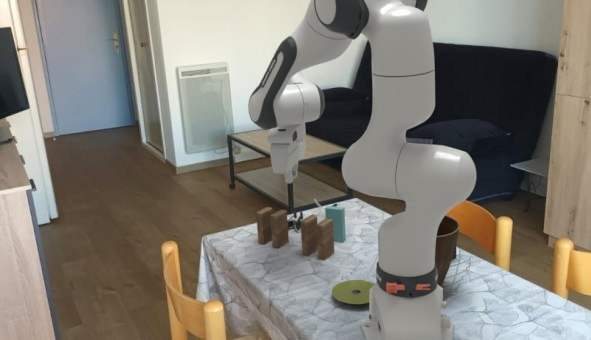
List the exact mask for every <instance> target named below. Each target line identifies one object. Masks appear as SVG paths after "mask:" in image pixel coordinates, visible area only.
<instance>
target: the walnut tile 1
mask: <svg viewBox="0 0 591 340" xmlns="http://www.w3.org/2000/svg"><path fill="white" fill-rule="evenodd" d="M273 209H274V208H273V207H271V206H269V207H268V206H266V207H263V208H262V209H260V210H258V211H256V212H255V215H256V228H257V229H256V230H257V241H258V245H263V246H265V245H266V244H268V243H270V242H271V241H272V230H271V216H270V215H272V214H274V210H273Z"/></svg>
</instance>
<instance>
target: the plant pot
mask: <svg viewBox="0 0 591 340" xmlns="http://www.w3.org/2000/svg"><path fill="white" fill-rule="evenodd" d="M459 233H460V222H459V221H458V220H457V219H455V217H454V218H452V217H451V215H447V214H446V215H445V216H444V218H443V219H442V221H441V222H440V225H439V227H438V231H437V236H436V246H435V263H436V265H437V272H438V278H437V284H438V285H439V286H441V287H442V285H443V284H444V282H445V279H446V278H447V275H448V272H449V269H450V267H451V263H452V260H453V259H452V258H453V254H454V251H455V247H456V248H457V243H458V237H459Z"/></svg>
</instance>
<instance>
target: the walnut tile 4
mask: <svg viewBox="0 0 591 340" xmlns="http://www.w3.org/2000/svg"><path fill="white" fill-rule="evenodd" d="M316 224H317V216H312V215H311V214H310V215H309V216H307V217H305V218H303V220H302V221H301V226H300V235H301V237H300V238H301V251H302V252H301V253H302V255H303V256H306V257H310V256H311V255H313V254H314V253H315V252H318V246H317V225H316Z"/></svg>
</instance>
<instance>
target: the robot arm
mask: <svg viewBox="0 0 591 340" xmlns="http://www.w3.org/2000/svg"><path fill="white" fill-rule="evenodd" d="M428 1H429V0H310V1H309V4H308V6H307V10H306V11H305V15H304V17H303V19H302V20H301V22H300V23H299V24H298V26H297V27H296V28H295V29H294V31H293V32H292V33H291V34H290V35H288V36H286V38H284V39H283V40H282V42H281V43H280V44H279V45H278V47H277V48H276V49H275V53H274V54H273V57H272V58H271V60H270V62H269V64H268V66H267V68H266V70H265V72H264V74H263V76H262V78H261V80H260V82H259V84H258V85H257V86H256V88H255V89H254V90H253V91H252V93H251V95H250V97H249V99H248V107H247V108H248V115H249V118H250V120H251V121H252V122H253V123H254V124H255V125H256V126H258V127H259V128H261V129H262V130H265V131H269V132H268V134H267V137H266V138H267V144H270V145H269V149H270V150H269V154H270V162H271V168H272V171H273V173H274V174H278V175H279V174H283V176H284V181H285V183H286V184H292V183H293V182H294V179H297V177H298V168H299V161H300V160H301V159H302V158H303V157H304V156H305V155H306V149H307V147H306V146H307V145H306V137H305V136H306V135H307V134H306V133H307V132H306V131H307V130H306V123H310V122H314V121H316V120H318V119H320V118H321V116H322V115H323V113H324V110H325V108H326V106H325V105H326V104H325V103H326V101H325V94H324V91H323V90H322V89H321V88H320V87H319V86H318V85H317V84H316V83H314V82H311V81H308V79H306V78H305V77H304V76H303V74H302V71H304V70H307V69H308V68H311V67H314V66H317V65H321V64H325V63H328V62H331V61H334V60H336V59H338V58H339V57H341V56H342V55H343V54H344V53H345V52H346V50H347V49H348V48H349V47H350V45H351V44H352V43H353V40H356V39H357V38H358V37H359V36H360V35H361V34H362V35H363V36H364V38H365V37H366V39H367V41H368V42H369V44H370V49H371V80H372V83H371V84H372V108H371V116H370V120H369V123H368V125H367V127H366V130H365V131H364V133H363V134H362V136H361V137H360V138H359V139H358V140H356V142H354V143H352V144H351V145H350V146H349V147H348V149H347V150H346V152H345V153H344V155H343V158H342V163H341V175H342V178H343V180H344V182H345V184H346V186H347V187H348V188H349V189H351V190H354V191H357V192H359V193H362V194H364V195H368V196H371V197H379V198H384V199H385V198H386V199H392V200H393V199H394V200H400V201H404V202H405V210H404V211H402V212H398V213H396V214H393V215H391V216H389V217H387V218H386V219H385V220H384V221H383V222H382V223H381V224H380V225H379V228H378V230H377V231H378V232H377V242H378V243H377V245H378V246H377V248H378V250H377V251H378V255H377V256H378V259H377V262H376V268H375V276H376V282H375V283H374V284H375V285H374V286H373V287H372V288H371V289H370V293H369V307H368V308H369V310H368V312H369V315H368V316H369V317H367V318H364V319H362V320H360V329H361V332H362V334H363V337H364V339H365V340H454V322H453V320H451V317H450V316H448V315H447V314H444V313H443V309H447V306H448V305H447V303H448V302H447V301H446V300H443V299H444V297H443V296H444V288H443V287H442V286H439V285H438V284H437V278H438V272H437V265H436V263H435V246H436V236H437V231H438V227H439V225H440V222H441V221H442V219H443V218H444V216H445V215H447V214H448V213H449V212H450V211H451V210H452V209H453V208H455V207H457V206H458V205H460V204H462V203H463V202H465V200H467V199H468V198H469V197H470V196H471V194H472V192H473V191H474V188H475V186H476V183H477V169H476V165H475V163H474V160H473V159H472V157H471V155H470V154H469V153H468V152H466V151H463V150H461V149H458V148H453V147H450V146H447V145H443V144H431V143H429V144H427V143H416V142H409V141H407V138H406V137H407V136H406V133H407V131H408V130H410V129H413V128H415V127H417V126H419V125H421V124H423V123H425V122H426V121H427V120H428V119H429V118H430V117H431V116H432V114H433V112H434V111H435V107H436V78H435V77H436V71H435V69H436V67H435V64H436V63H435V52H434V51H435V49H434V41H433V36H432V29H431V25H430V21H429V19H428V16H427V14H426V13H425V9H426V7H427V4H428Z"/></svg>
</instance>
